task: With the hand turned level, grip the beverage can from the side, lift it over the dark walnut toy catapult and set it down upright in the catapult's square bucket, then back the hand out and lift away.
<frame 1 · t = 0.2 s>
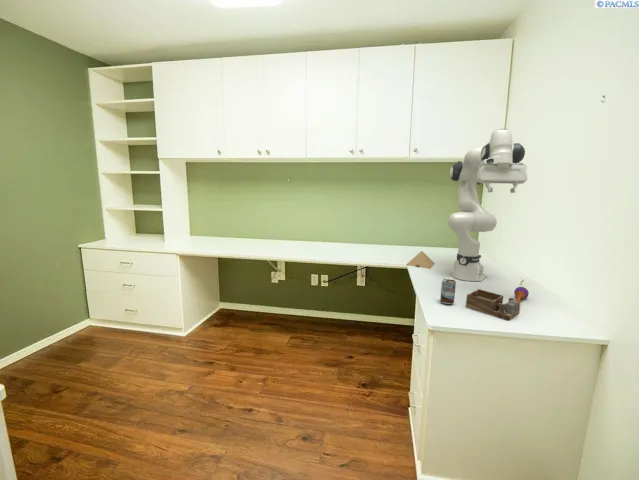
hand: (501, 192, 142), 52 cm above the worktop, tool tilted 20°, fingers open, 8 cm apart
catapult: (491, 310, 141), on the worktop
beverage can: (446, 303, 149), on the worktop
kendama: (518, 302, 152), on the worktop
model pyramid: (420, 265, 217), on the worktop
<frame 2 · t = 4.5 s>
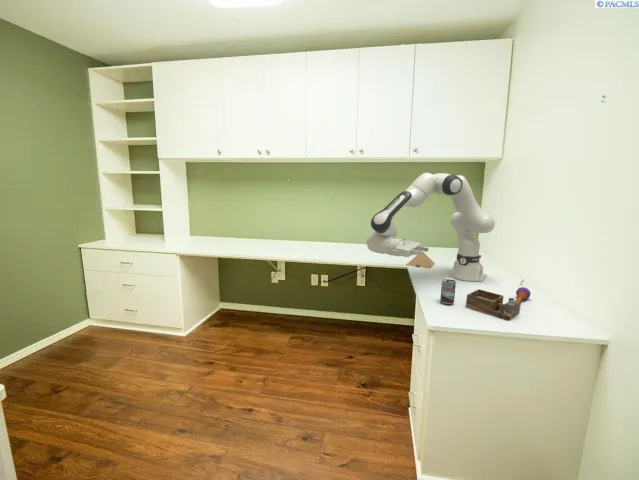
hand: (425, 251, 151), 23 cm above the worktop, tool horizontal, fingers open, 8 cm apart
nothing on the worktop moved.
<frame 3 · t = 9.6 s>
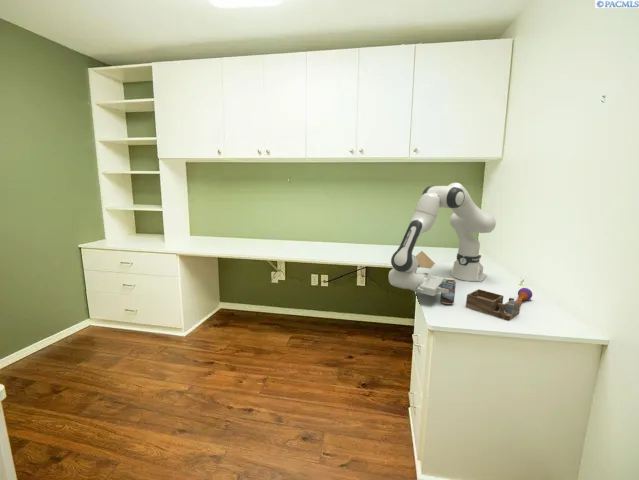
hand: (450, 288, 147), 7 cm above the worktop, tool horizontal, fingers open, 6 cm apart
beverage can: (446, 303, 149), on the worktop, touching gripper
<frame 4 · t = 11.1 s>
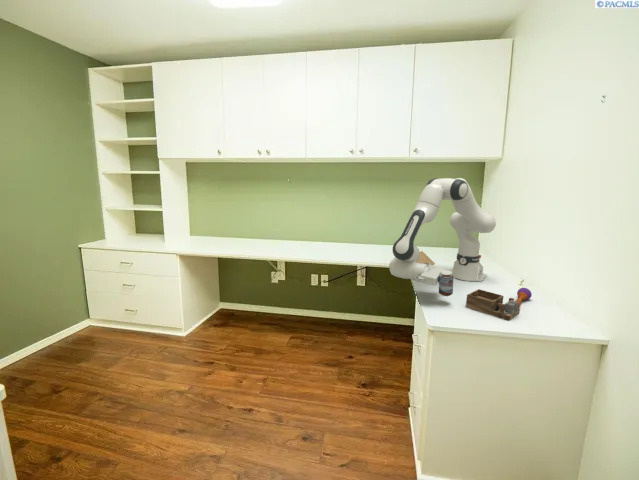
hand: (451, 278, 146), 12 cm above the worktop, tool horizontal, fingers closed on beverage can
beverage can: (446, 293, 148), point 4 cm above the worktop, touching gripper
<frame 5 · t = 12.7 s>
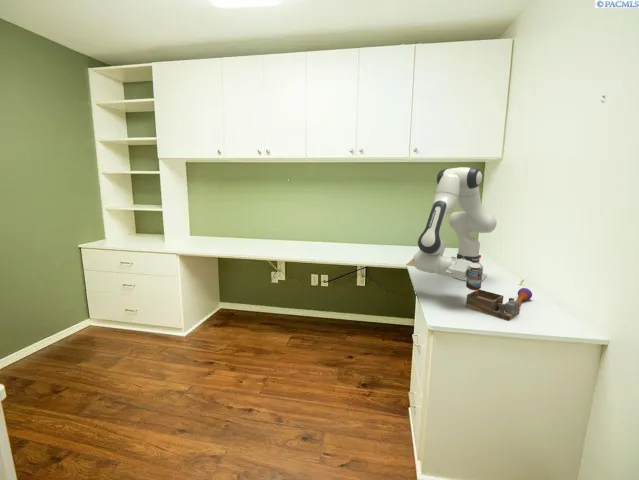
hand: (480, 271, 142), 17 cm above the worktop, tool horizontal, fingers closed on beverage can
beverage can: (473, 287, 144), point 9 cm above the worktop, touching gripper
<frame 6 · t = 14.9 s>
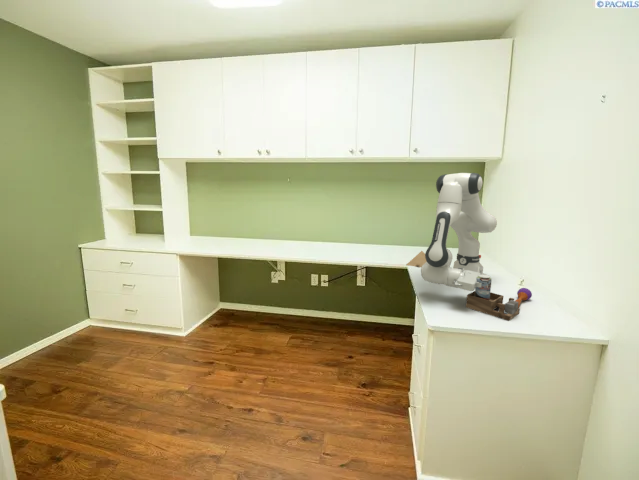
hand: (489, 284, 141), 12 cm above the worktop, tool horizontal, fingers open, 4 cm apart
beverage can: (482, 300, 144), point 3 cm above the worktop, touching catapult, gripper
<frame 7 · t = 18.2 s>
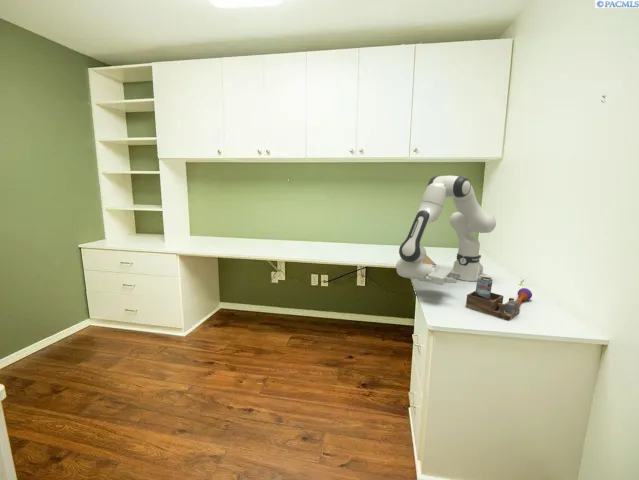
hand: (458, 278, 148), 12 cm above the worktop, tool horizontal, fingers open, 8 cm apart
beverage can: (481, 301, 144), point 3 cm above the worktop, touching catapult
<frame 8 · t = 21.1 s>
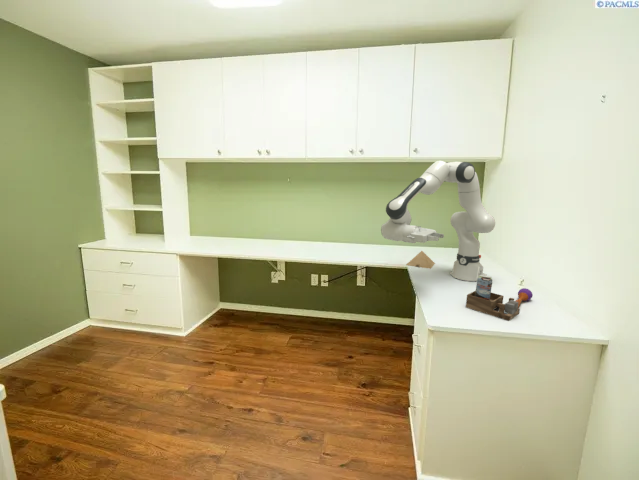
hand: (441, 237, 150), 30 cm above the worktop, tool horizontal, fingers open, 8 cm apart
at the end: beverage can inside the target area (1.0 cm from its centre), point 2.8 cm above the worktop; beverage can tilted 0°; the gripper is holding nothing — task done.
